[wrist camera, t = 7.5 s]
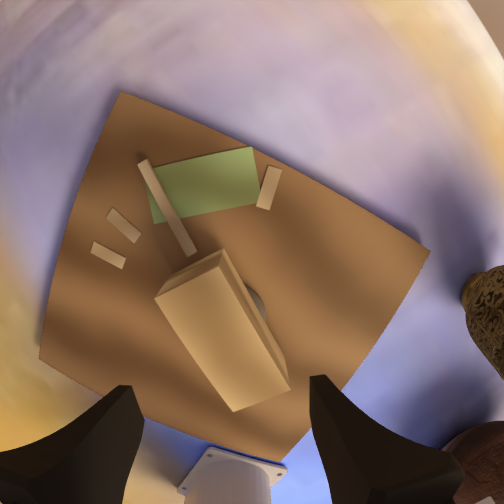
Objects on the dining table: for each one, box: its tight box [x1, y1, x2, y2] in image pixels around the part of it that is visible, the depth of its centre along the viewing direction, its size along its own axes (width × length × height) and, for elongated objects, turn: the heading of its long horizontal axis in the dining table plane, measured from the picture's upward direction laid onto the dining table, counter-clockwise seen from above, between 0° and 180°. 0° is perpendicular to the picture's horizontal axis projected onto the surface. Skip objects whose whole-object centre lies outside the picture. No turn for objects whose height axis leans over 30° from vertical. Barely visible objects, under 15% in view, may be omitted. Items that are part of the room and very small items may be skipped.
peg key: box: [138, 159, 291, 412], centre depth 17 cm, size 4×14×4 cm, turn 27°
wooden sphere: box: [442, 421, 504, 504], centre depth 19 cm, size 15×15×15 cm
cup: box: [461, 265, 504, 380], centre depth 17 cm, size 8×7×8 cm
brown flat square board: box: [39, 91, 431, 462], centre depth 20 cm, size 21×22×1 cm
